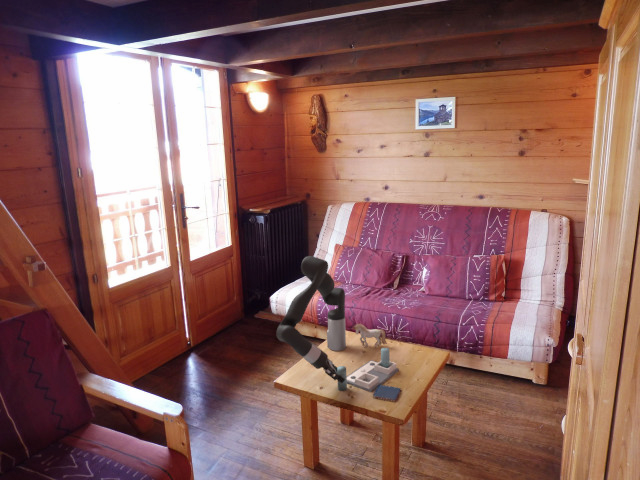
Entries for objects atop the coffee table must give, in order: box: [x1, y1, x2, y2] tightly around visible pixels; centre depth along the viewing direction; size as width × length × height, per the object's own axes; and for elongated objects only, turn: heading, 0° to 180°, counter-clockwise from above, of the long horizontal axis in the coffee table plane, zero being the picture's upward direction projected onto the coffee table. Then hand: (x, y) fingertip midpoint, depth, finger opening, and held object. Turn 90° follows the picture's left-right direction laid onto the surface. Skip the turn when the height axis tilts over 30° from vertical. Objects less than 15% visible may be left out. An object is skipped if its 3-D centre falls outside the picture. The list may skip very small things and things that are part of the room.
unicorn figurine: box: [352, 323, 388, 349], centre depth 243 cm, size 7×20×13 cm, turn 99°
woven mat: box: [372, 384, 402, 403], centre depth 197 cm, size 10×11×2 cm
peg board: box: [346, 347, 400, 393], centre depth 212 cm, size 16×24×11 cm, turn 140°
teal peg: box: [337, 365, 348, 392], centre depth 202 cm, size 4×4×10 cm
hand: (341, 376), depth 202 cm, fingers open, 8 cm apart
